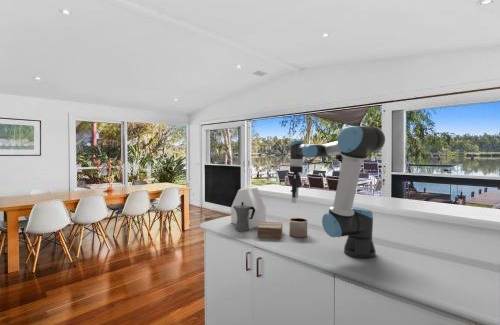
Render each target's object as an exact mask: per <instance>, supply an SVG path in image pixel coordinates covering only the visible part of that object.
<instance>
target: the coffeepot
mask: <svg viewBox="0 0 500 325" xmlns="http://www.w3.org/2000/svg"><path fill="white" fill-rule="evenodd" d="M243 203H244V202H241V204H242V205H239V206H233V207H234V209H235V210H236V213H237V224H235V230H236V231H237V230H238V231H237V232H248V231H249V230H250V228H249V226H248V219H247V217H248V212H249V210H250V209H252V210H253V211H252V214H251V218H249V219H252V218H253V215H254V213H255V208H254V207H251V206H246V205H243Z"/></svg>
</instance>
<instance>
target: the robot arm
mask: <svg viewBox="0 0 500 325" xmlns="http://www.w3.org/2000/svg"><path fill="white" fill-rule="evenodd" d="M385 143H386V135H385V133H384V132H383V130H381V129H380V128H378V127H375V126H361V125H351V126H350V125H349V126H347V127H344V128H343V129H341V131H340V132H339V134H338V136H337V140H336V141H332V142H328V143H327V142H326V143H305V142H304V140H302V139H300V140H299V139H293V140H291V141H290V150H289V151H290V158H289V159H288V161H289V165H290V166H289V173H293V175H291V177H292V183H291V190H290V192H291V204H292V203H293V204H296V203H297V199H299V189H300V173H302V172H303V165H304V164H303V163H304V158H308V159H311V158H331V157H334V156H338V155H340V156H341V157H342V160H341V166H340V171H339V176H338V181H337V186H336V190H335V196H334V201H333V204H331V205H330V206H329V209H328V212H326V213H324V214H323V216H322V218H321V223H322V227H323V230H324V232H325V233H326V235H328V236H329V237H332V238H340V237H346V236H347V238H346V240H345V241H346V242H345V243H344V247H343V252H344V254H345V255H347V256H350V257H353V258H358V259H372V258H374V257H376V255H377V254H376V248H375V244H374V242H373V228H374V226H373V225H374V215H373V212H372V210H370V209H366V208H363V207H357V206H354V200H355V196H356V193H357V192H356V191H357V187H358V183H359V177H360V175H361V174H360V173H361V169H362V165H363V164H362V163H363V161H365V160H366V159H367V158H368V154H369V153H375V152H377V151H379V150H382V148H383V147H384V145H385Z"/></svg>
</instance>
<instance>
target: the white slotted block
mask: <svg viewBox="0 0 500 325" xmlns="http://www.w3.org/2000/svg"><path fill="white" fill-rule="evenodd" d="M241 202H244V203H243V205H246V206H251V207H254V208H255V213H254V215H253V218H252V219H249V218H251V214H252V211H253V210H252V209H250V210H249V212H248V217H247V219H248V226H249V229H252V228H258V226H259V224H260V222H267V221H266V216H267V215H266V212H267V211H266V210H267V209H266V205H265V203H264V201H263V198H262V196H261V193H260V190H259V188H258V187H255V186H254V187H249V188H240V189H238V190H237V192H236V195H235V197H234V199H233V202H232V204H231V207H230V217H231V218H230V220H231V221H230V223H231V224H233V225H236V224H237V213H236V210H235V209H234V207H233V206H239V205H242V204H241Z"/></svg>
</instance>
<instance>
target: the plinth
mask: <svg viewBox="0 0 500 325" xmlns="http://www.w3.org/2000/svg"><path fill="white" fill-rule="evenodd" d="M282 236H283V222H280V221H279V222H275V221H266V222H260V224H259V226H257V238H260V239H261V238H265V239H278V240H279V239H282Z"/></svg>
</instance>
